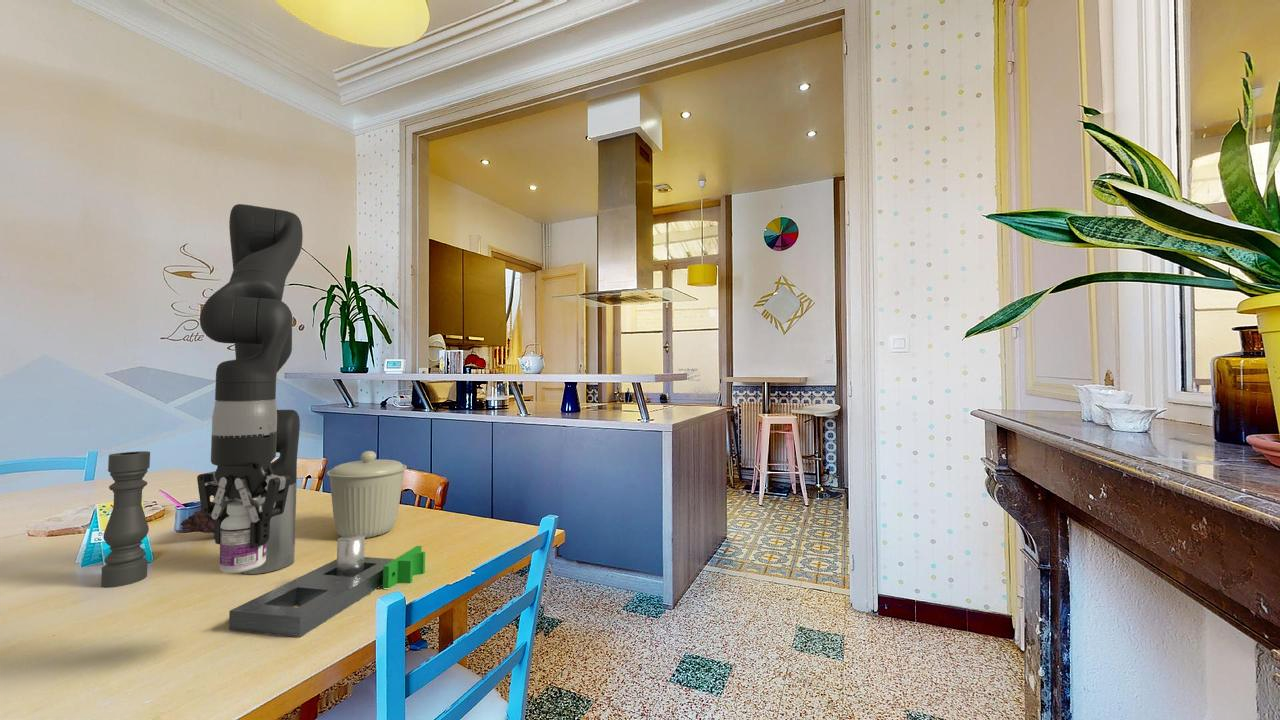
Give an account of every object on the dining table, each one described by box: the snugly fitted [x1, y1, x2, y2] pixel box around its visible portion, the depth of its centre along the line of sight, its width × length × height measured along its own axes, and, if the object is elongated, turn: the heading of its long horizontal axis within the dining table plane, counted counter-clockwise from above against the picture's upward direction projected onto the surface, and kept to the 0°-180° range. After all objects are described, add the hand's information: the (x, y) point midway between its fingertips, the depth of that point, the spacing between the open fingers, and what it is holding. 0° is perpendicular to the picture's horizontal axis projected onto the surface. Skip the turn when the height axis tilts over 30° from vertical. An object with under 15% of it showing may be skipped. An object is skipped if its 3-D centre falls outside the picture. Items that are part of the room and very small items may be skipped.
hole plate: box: [228, 556, 395, 638], centre depth 87 cm, size 13×24×3 cm, turn 171°
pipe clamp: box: [382, 545, 426, 589], centre depth 97 cm, size 11×4×5 cm, turn 174°
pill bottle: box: [219, 499, 266, 574], centre depth 71 cm, size 5×5×10 cm
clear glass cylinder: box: [336, 534, 366, 577], centre depth 93 cm, size 5×5×9 cm
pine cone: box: [180, 499, 227, 534], centre depth 121 cm, size 18×10×10 cm, turn 143°
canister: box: [326, 450, 407, 539], centre depth 124 cm, size 18×18×21 cm
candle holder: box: [100, 450, 151, 588], centre depth 95 cm, size 6×6×25 cm
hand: (241, 543), depth 71 cm, fingers closed on pill bottle, 5 cm apart
